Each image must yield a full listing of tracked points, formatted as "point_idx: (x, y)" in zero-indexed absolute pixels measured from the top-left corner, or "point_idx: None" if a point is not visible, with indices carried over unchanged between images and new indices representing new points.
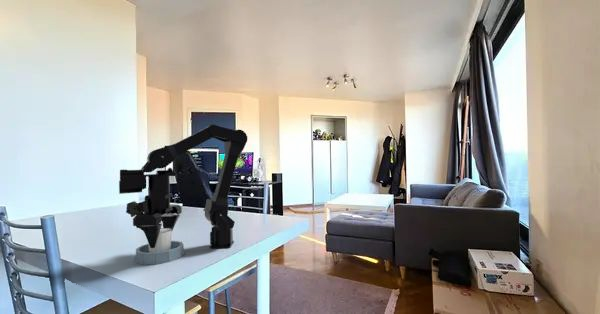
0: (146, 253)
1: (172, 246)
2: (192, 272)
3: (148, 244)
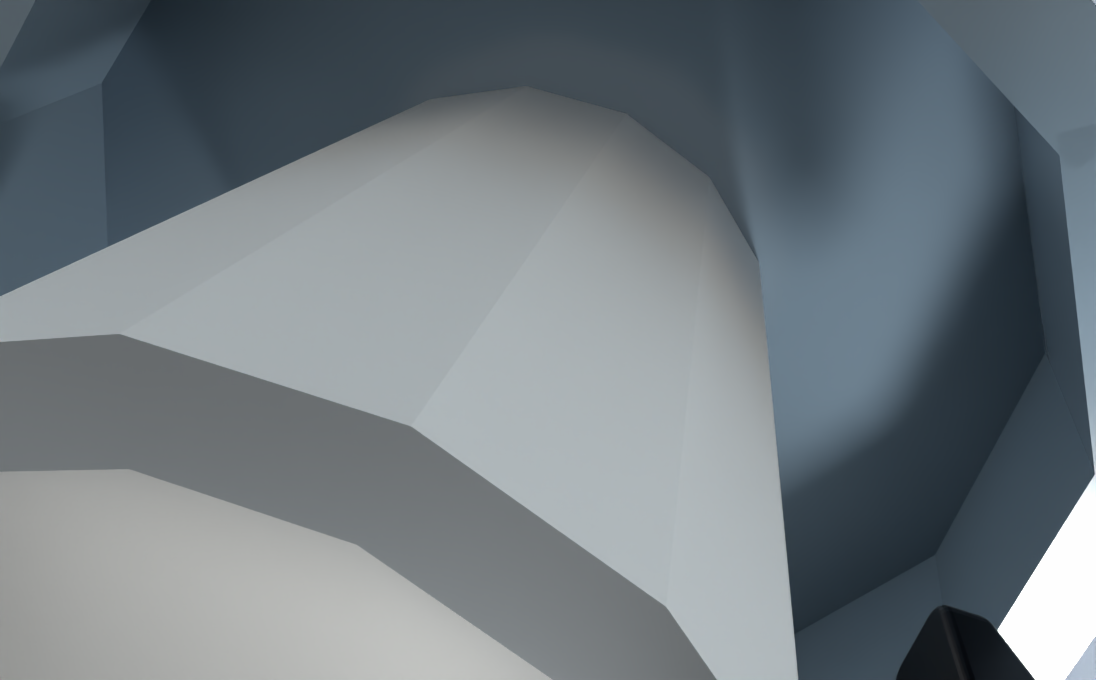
0: None
1: (944, 575)
2: None
3: (258, 180)
